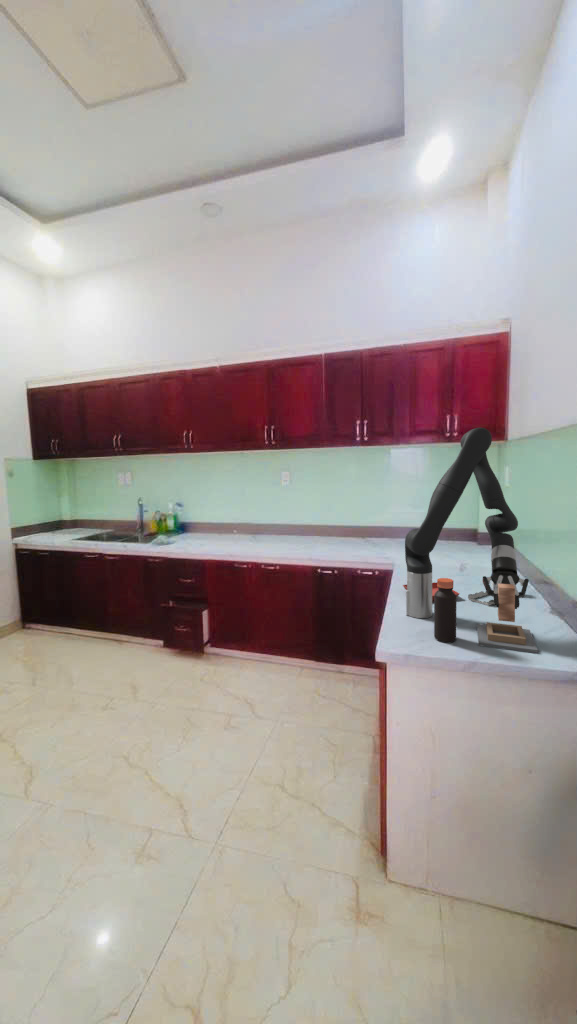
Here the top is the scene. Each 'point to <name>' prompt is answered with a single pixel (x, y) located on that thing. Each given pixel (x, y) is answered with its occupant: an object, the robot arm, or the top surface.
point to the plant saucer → (434, 590)
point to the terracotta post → (506, 602)
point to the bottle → (445, 611)
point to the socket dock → (506, 637)
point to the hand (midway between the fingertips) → (506, 607)
